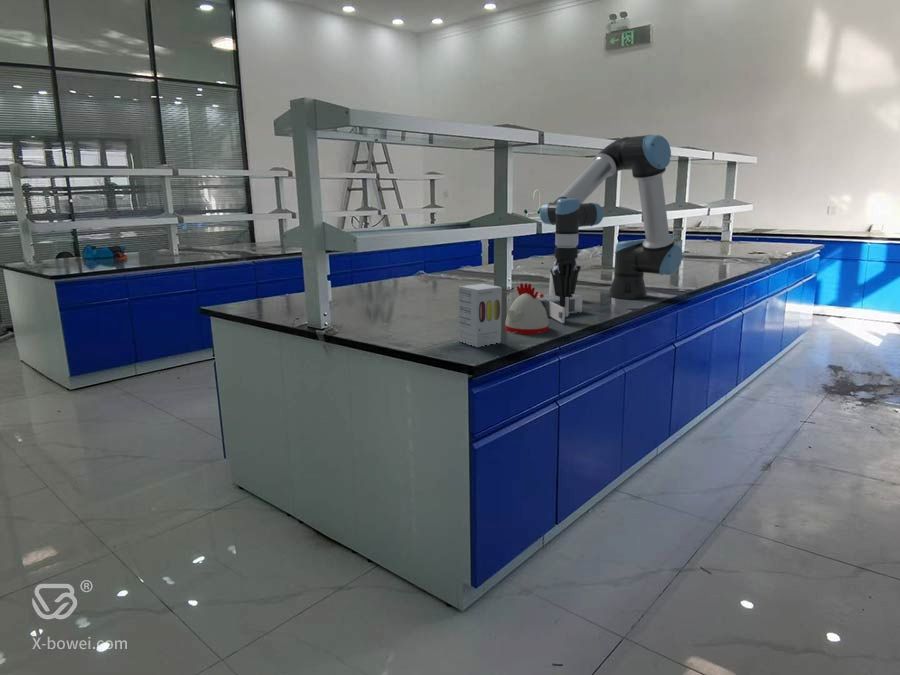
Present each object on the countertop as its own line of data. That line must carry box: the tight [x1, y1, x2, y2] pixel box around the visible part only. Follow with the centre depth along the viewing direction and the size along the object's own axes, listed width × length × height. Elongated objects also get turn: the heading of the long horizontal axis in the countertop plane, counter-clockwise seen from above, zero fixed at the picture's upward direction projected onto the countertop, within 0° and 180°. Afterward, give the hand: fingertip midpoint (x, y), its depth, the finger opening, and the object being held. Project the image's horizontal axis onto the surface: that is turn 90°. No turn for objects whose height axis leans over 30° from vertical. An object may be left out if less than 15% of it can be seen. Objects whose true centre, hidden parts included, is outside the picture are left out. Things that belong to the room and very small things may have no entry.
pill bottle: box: [548, 261, 556, 294], centre depth 246 cm, size 8×8×15 cm
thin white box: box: [548, 301, 566, 324], centre depth 207 cm, size 13×2×5 cm, turn 11°
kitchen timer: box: [504, 282, 550, 335], centre depth 194 cm, size 14×14×15 cm
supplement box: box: [458, 283, 503, 348], centre depth 177 cm, size 10×9×17 cm
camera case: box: [537, 293, 584, 318], centre depth 220 cm, size 19×10×7 cm, turn 118°
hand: (564, 315), depth 206 cm, fingers closed
